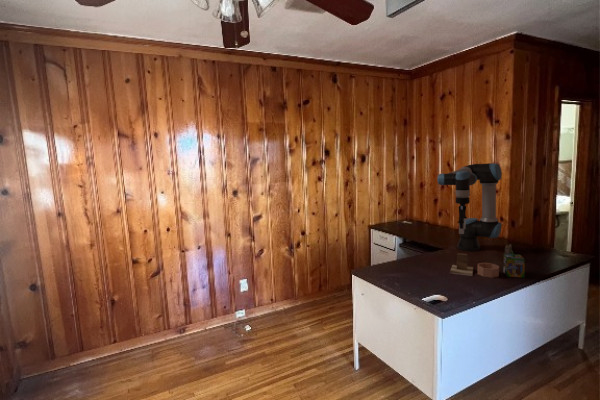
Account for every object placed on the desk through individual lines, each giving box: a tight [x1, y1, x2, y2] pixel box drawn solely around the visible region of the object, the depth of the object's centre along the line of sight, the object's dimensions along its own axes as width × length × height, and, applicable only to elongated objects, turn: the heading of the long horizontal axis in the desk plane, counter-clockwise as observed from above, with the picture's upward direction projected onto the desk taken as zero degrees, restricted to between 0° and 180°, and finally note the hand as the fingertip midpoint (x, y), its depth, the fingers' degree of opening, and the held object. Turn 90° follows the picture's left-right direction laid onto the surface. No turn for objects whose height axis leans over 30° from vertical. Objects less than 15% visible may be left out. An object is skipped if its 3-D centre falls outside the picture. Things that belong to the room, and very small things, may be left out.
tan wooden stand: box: [449, 252, 474, 276], centre depth 197 cm, size 12×12×11 cm
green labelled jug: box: [502, 249, 526, 279], centre depth 187 cm, size 9×9×15 cm
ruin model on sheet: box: [504, 243, 513, 254], centre depth 220 cm, size 11×3×10 cm, turn 140°
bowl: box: [477, 262, 500, 278], centre depth 190 cm, size 11×11×5 cm
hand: (462, 231), depth 194 cm, fingers open, 13 cm apart
